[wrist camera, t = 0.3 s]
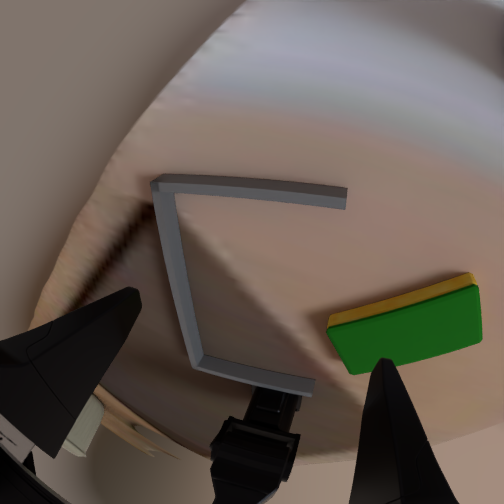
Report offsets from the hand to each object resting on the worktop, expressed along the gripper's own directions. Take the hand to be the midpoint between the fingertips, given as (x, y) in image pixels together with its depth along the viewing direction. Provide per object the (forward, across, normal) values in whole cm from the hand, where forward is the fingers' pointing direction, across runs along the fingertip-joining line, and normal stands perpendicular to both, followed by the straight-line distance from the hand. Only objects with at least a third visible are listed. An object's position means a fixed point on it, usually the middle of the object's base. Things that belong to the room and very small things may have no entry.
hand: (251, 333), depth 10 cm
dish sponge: (+15, -11, +10) cm, 21 cm away
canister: (+15, +47, +66) cm, 83 cm away
